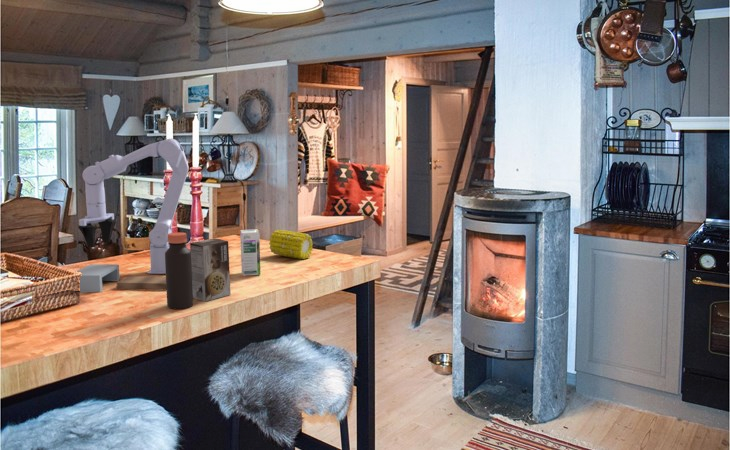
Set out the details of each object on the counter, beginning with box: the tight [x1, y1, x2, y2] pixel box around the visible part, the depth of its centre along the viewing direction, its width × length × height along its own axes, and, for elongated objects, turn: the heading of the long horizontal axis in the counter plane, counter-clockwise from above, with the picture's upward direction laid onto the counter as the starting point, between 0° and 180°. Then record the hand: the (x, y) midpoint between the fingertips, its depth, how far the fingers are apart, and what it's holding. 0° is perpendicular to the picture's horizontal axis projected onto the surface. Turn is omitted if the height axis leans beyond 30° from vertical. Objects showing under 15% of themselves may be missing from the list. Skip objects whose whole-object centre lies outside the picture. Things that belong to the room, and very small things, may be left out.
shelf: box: [76, 263, 121, 293], centre depth 198 cm, size 9×14×5 cm, turn 179°
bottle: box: [165, 231, 194, 310], centre depth 176 cm, size 7×7×20 cm
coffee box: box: [189, 237, 231, 302], centre depth 186 cm, size 9×6×16 cm
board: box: [116, 275, 167, 291], centre depth 198 cm, size 16×8×2 cm, turn 87°
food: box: [269, 229, 313, 260], centre depth 239 cm, size 15×12×10 cm
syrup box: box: [240, 229, 261, 277], centre depth 213 cm, size 6×6×14 cm
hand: (98, 244), depth 212 cm, fingers open, 7 cm apart
